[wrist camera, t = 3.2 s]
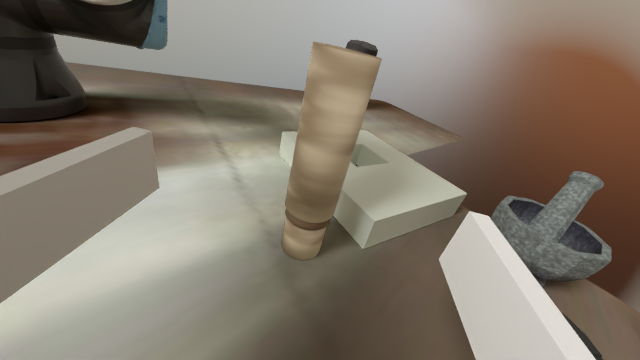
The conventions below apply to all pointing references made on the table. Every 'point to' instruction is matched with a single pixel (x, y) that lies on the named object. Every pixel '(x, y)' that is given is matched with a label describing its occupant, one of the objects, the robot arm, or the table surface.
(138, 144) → the robot arm
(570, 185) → the mortar and pestle
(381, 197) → the board
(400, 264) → the table surface
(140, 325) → the table surface
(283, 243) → the beech leg
